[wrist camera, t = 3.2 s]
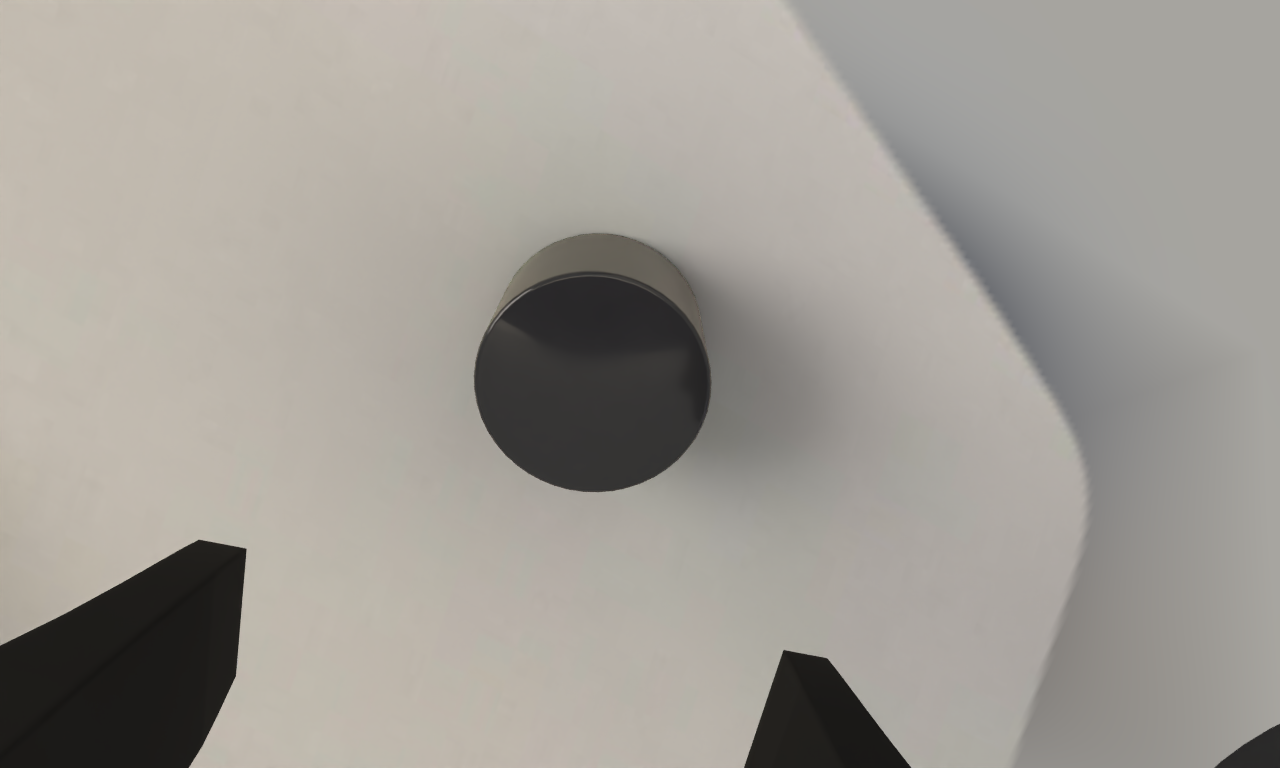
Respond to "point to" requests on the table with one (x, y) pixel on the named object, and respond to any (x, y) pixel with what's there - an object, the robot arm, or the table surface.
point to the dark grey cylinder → (594, 365)
